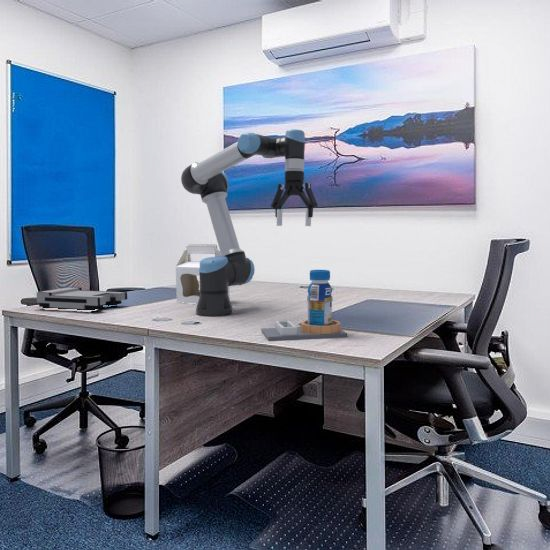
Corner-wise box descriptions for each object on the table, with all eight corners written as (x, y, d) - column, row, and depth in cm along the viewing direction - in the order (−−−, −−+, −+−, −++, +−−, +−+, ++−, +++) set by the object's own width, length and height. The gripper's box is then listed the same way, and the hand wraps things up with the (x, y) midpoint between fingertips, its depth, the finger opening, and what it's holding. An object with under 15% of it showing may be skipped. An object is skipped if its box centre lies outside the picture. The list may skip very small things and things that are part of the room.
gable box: (176, 303, 244) (174, 244, 241) (192, 299, 255) (190, 243, 253) (215, 305, 234) (214, 244, 231) (230, 302, 246) (229, 243, 243)
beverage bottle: (303, 328, 174) (303, 269, 172) (326, 326, 176) (326, 269, 175) (312, 333, 166) (312, 271, 164) (336, 331, 168) (336, 271, 166)
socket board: (268, 340, 161) (268, 329, 160) (261, 331, 174) (261, 321, 174) (347, 336, 165) (347, 325, 165) (334, 328, 179) (334, 318, 179)
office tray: (98, 314, 214) (97, 295, 213) (37, 310, 224) (36, 292, 224) (127, 307, 234) (126, 289, 233) (70, 304, 244) (69, 287, 243)
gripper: (327, 170, 194) (325, 226, 196) (274, 173, 208) (273, 225, 210) (317, 168, 188) (315, 226, 190) (263, 171, 202) (262, 225, 204)
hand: (293, 226), depth 200 cm, fingers open, 13 cm apart
